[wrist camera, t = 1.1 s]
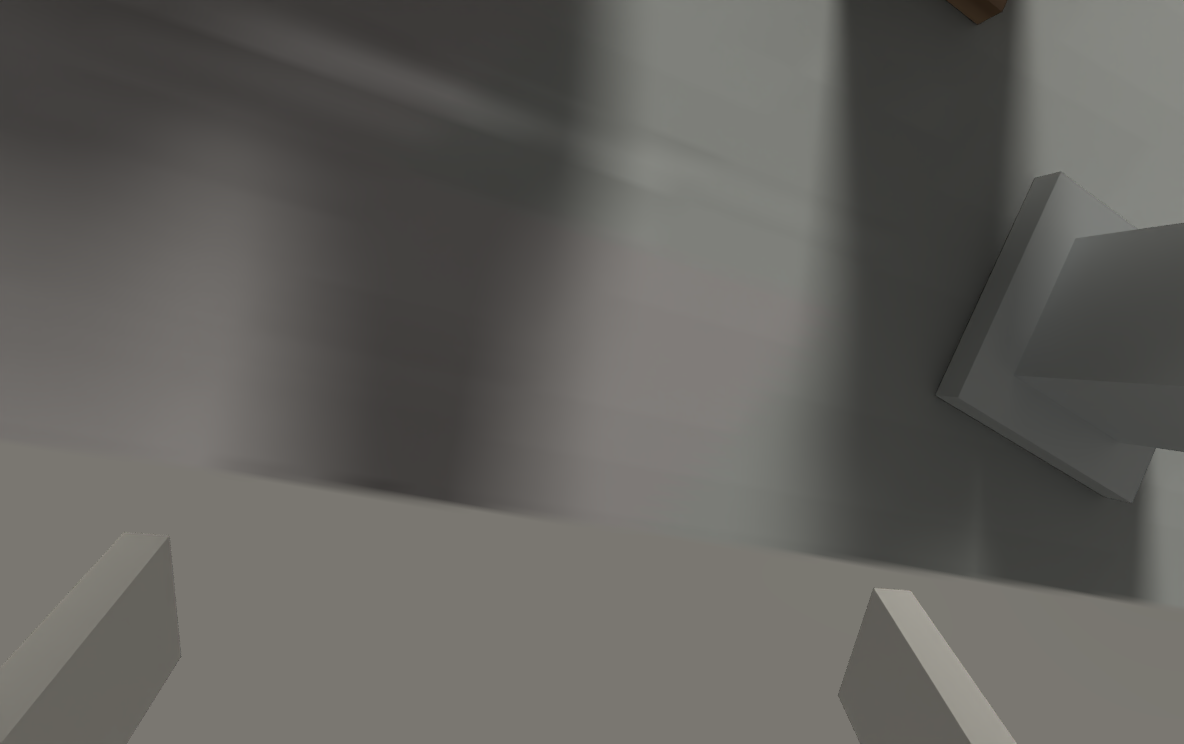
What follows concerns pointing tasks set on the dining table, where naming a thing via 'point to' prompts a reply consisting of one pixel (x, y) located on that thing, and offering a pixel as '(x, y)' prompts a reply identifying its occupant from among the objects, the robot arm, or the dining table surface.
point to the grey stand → (1079, 340)
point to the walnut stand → (979, 8)
